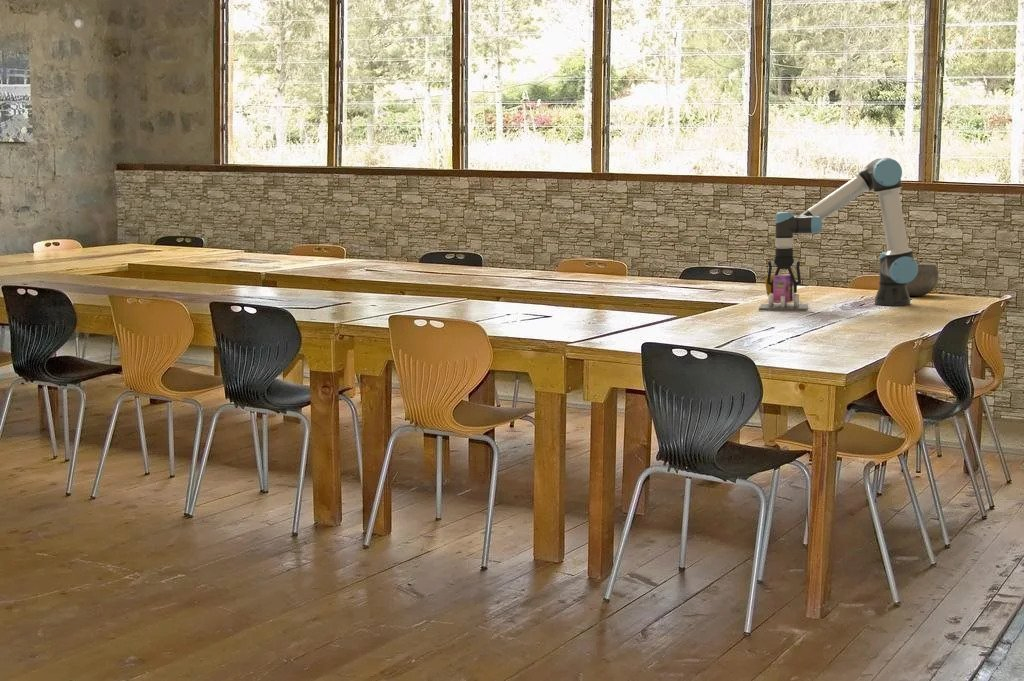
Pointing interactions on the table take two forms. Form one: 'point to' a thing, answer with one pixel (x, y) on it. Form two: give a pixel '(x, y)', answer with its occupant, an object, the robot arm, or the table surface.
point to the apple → (768, 287)
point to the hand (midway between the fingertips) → (783, 300)
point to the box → (782, 288)
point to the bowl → (923, 280)
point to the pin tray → (778, 307)
